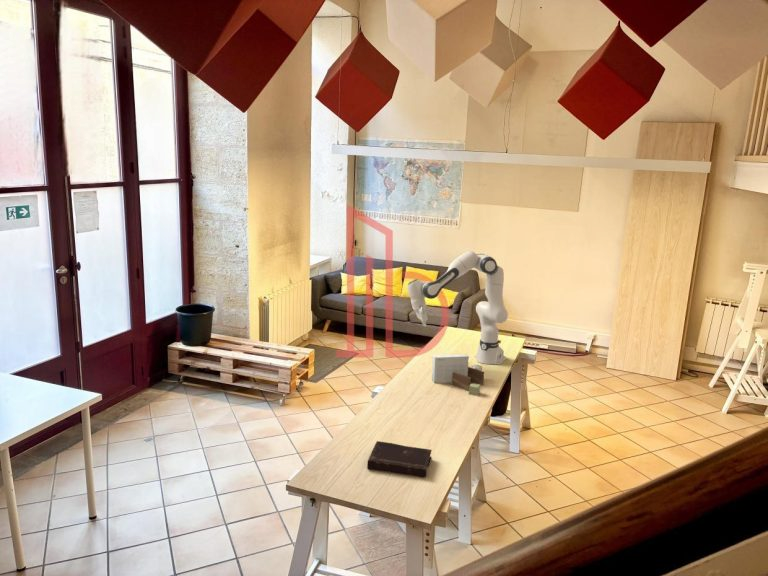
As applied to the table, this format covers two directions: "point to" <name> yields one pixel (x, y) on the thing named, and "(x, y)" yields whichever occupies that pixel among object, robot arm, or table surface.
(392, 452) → the diary
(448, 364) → the skincare box
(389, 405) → the table surface
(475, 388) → the olive block
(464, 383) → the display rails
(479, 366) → the grey rounded capsule
